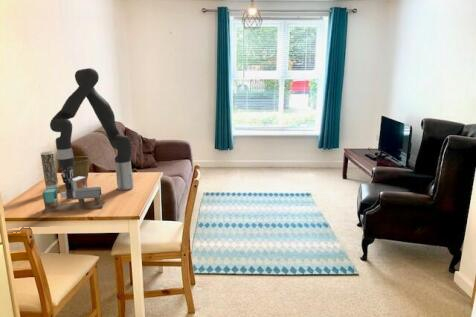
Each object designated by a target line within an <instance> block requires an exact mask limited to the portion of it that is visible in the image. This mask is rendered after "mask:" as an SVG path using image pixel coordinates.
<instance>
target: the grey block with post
mask: <svg viewBox="0 0 476 317" xmlns="http://www.w3.org/2000/svg"><path fill="white" fill-rule="evenodd" d="M66 181H67V180H66ZM70 184H71V190H66V189H65V191H61V192H60V198H65V199H66V200H73V199H74V198H76V196H75V191H74V187H73V180H72V179H70ZM64 185H65V188H66V184H65V183H64ZM99 192H100V190H99Z"/></svg>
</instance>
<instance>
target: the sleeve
mask: <svg viewBox="0 0 476 317" xmlns="http://www.w3.org/2000/svg"><path fill="white" fill-rule="evenodd" d="M99 190H100V192H99ZM75 196H76V197H75V200H78V199H84V200H85V199H94V198H100V199H101V197H102V188H101V186H94V187H93V186H92V187H87V188H77V189H76V190H75Z"/></svg>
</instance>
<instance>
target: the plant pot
mask: <svg viewBox="0 0 476 317" xmlns="http://www.w3.org/2000/svg"><path fill="white" fill-rule="evenodd" d="M73 157H74V165H73V166H71V168H73V177H74V178H76V177H78V176H81V177H86V180H87V181H88V177H89V173H90V160H91V159H90V157H89V156H85V155H84V156H81V155H80V156H73Z"/></svg>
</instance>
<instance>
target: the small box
mask: <svg viewBox="0 0 476 317" xmlns="http://www.w3.org/2000/svg"><path fill="white" fill-rule="evenodd" d="M73 187H74V191H75V190H76V189H77V188H88V179H87V180H86V177H81V176H78V177H76V178H73Z"/></svg>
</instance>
